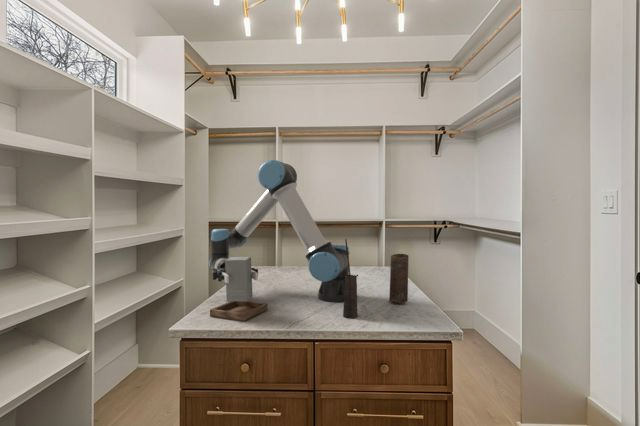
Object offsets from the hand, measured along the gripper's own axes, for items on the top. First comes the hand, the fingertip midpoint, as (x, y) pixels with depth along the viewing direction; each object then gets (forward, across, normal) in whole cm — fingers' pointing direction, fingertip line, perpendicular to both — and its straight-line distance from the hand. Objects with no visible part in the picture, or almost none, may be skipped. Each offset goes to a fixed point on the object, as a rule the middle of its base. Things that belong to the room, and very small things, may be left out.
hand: (242, 277), depth 126 cm
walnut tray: (-4, 0, -14) cm, 14 cm away
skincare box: (-4, 0, -9) cm, 10 cm away
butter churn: (+20, -35, -14) cm, 42 cm away
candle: (+15, -61, -14) cm, 64 cm away
